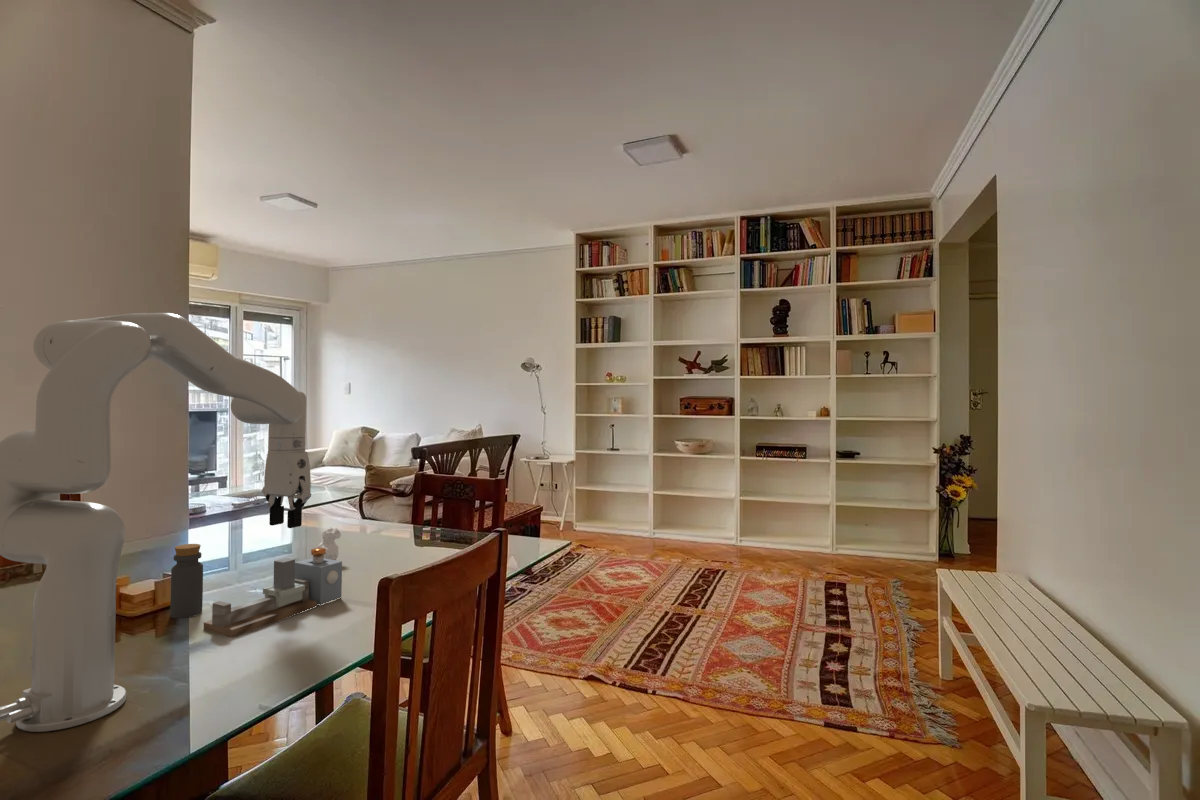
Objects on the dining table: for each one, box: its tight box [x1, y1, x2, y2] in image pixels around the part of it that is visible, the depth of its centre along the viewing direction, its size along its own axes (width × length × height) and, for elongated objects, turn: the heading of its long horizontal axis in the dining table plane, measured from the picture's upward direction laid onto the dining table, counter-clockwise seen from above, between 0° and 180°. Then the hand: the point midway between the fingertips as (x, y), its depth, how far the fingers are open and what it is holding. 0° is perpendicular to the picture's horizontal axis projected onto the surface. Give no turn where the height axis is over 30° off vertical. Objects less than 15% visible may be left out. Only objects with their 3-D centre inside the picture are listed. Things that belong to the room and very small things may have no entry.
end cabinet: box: [295, 557, 343, 605], centre depth 144 cm, size 6×9×9 cm, turn 65°
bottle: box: [169, 543, 204, 619], centre depth 133 cm, size 6×6×15 cm
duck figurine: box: [316, 527, 342, 560], centre depth 177 cm, size 12×8×11 cm
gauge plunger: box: [310, 547, 326, 564], centre depth 144 cm, size 3×3×6 cm
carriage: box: [262, 557, 305, 607], centre depth 136 cm, size 6×6×9 cm
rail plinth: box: [203, 578, 317, 638], centre depth 132 cm, size 20×9×6 cm, turn 155°
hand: (285, 524), depth 136 cm, fingers open, 5 cm apart
